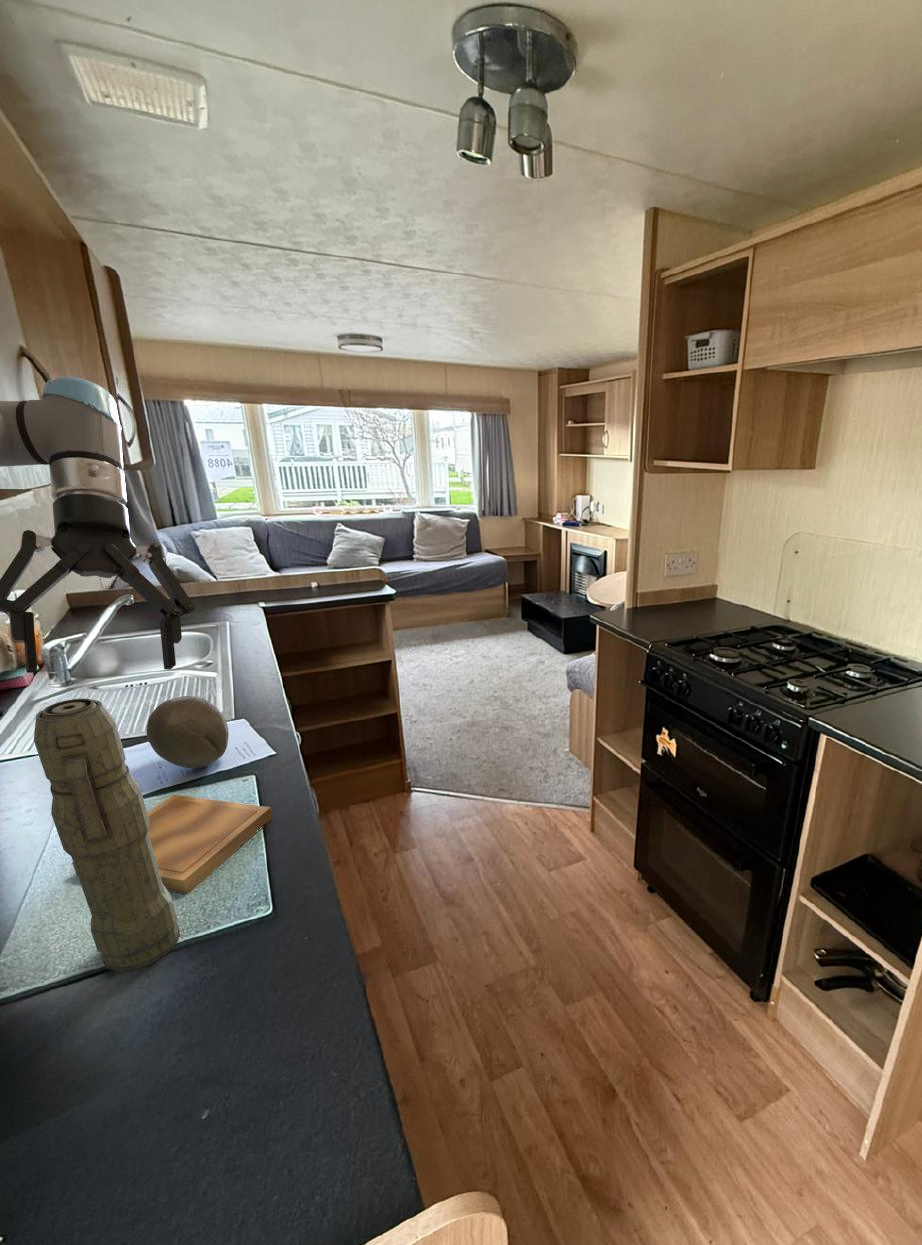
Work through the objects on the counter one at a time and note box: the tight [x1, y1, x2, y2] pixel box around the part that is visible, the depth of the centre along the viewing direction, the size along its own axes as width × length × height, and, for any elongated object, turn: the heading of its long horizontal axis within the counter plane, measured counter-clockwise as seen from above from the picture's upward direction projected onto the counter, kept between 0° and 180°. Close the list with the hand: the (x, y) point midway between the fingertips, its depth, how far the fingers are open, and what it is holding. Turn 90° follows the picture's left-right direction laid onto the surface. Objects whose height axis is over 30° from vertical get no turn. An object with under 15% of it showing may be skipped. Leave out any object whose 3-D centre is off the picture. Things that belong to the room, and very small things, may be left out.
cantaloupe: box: [146, 695, 230, 769], centre depth 125 cm, size 14×14×15 cm
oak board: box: [72, 794, 273, 894], centre depth 102 cm, size 20×20×3 cm
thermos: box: [33, 698, 181, 973], centre depth 76 cm, size 9×12×35 cm
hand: (105, 669), depth 75 cm, fingers open, 13 cm apart
